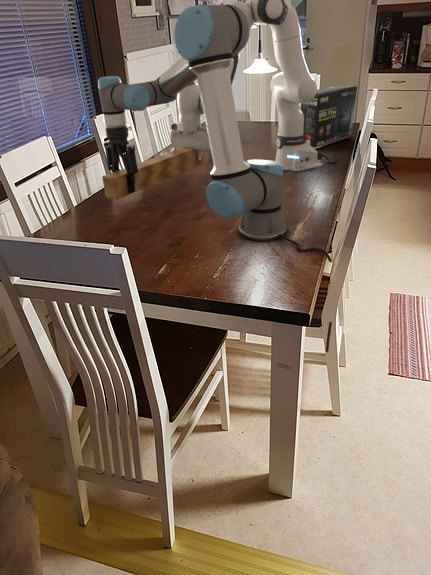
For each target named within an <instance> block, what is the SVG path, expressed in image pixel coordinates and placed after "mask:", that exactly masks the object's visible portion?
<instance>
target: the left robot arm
mask: <svg viewBox="0 0 431 575" xmlns="http://www.w3.org/2000/svg"><path fill="white" fill-rule="evenodd" d="M173 30H174V31H173V39H174V40H173V42H174V45H175V48H176V52H177V53H178V54H179V55H180V58H179V59H178V60H177V61H176V62H174V63H173V64H172V65H171V66H170V67H169V68H167V69H166V70H165V72H163V73H161V75H160V76H158V77H157V78H156V79H154V80H150V81H144V82H139V83H131V84H123V83H122V80H121V78H120V77H119V76H117V75H110V76H109V75H108V76H101V77H99V78H98V79H97V84H98V85H97V86H98V93H99V94H98V95H99V99H100V105H101V110H102V117H103V123H104V124H103V125H104V127H105V136H106V138H107V139H108V141H106V142H104V143H103V148H104V149H105V150H104V151H105V156H106V164H107V169H108V171H111V173H113V172H116V171H119V170H121V169H120V158H121V159H122V162H123V165H124V168H126V171H127V174H128V175H126V178H127V185H128V192H129V193H131V194H134V193H136V192H135V185H134V183H135V179H134V174H136V173H138V168H137V164H138V163H137V158H136V145H135V144H132V145H131V144H129V140H128V137H129V129H128V126H127V123H128V122H127V116H126V111H132V112H142V111H144V110H146V109H147V108H149V107H155V106H159V105H165V104H169V103H172V102H174V101H177V96H178V93H179V92H180V91H182V90H183V89H184V88H186V87H187V86H188V85H190V84H191V83H192V82H196V80H197V84H198V85H199V90H200V95H201V100H202V106H203V111H204V114H203V116H204V120H205V127H207V132H208V137H209V142H210V147H211V150H210V152H211V158H212V163H213V167H212V169H211V171H210V172H209V174H210V175H209V176H210V180H211V182H210V183H209V184H208V185H207V187H206V188H207V189H206V190H205V199H206V202H207V204H208V206H209V208H210V209H211V211H212V212H213V213H215V215H217V217H219V218H221V219H225V220H232V219H235V218H239V217H241V220H240V222H239V225H238V232H239V235H240V236H241V237H242V238H244V239H247V240H250V241H254V242H271V241H277V240H279V239H283V240H285V241H287V242H289V243H291V244H293V245H295V246H296V249H297V251H299V252H301V253H307V252H310V251H316V252H321V253H323V254H324V256H325V257H326V258H327V260H328V262H330V263H331V262H333V260H332V258H331V256H330V254H329V252H327V250H325V249H323V248H319V247H314V246H313V247H308V248H301V245H300V243H298V242H297V241H295V240H293V239H291V238H290V237H287V236H286V234H287V223H286V221H285V216H284V214H283V210H282V200H283V182H284V180H283V179H284V170H283V167H282V165H281V164H280V163H278V162H275V160H270V159H248V160H244V159H245V158H244V152H243V147H242V141H241V135H240V129H239V123H238V117H237V111H236V104H235V98H234V93H233V87H232V86H233V85H232V86H231V80H230V74H229V66H230V64H231V63H232V61H233V56H235V55H236V54H237V53H239V52H240V51H241V50H242V49H244V48H245V47H246V45H247V44H248V41H249V39H250V35H251V28H250V25H249V21H248V18H247V16H246V15H245V13H244V12H243V11H242V10H241V9H240V8H238V7H236V6H234V5H230V4H198V5H192V6H188V7H186V8H184V9H183V10H182V12H181V13H180V14H179V16H178V17H177V21H176V22H175V25H174V29H173ZM242 51H243V50H242ZM130 171H131V172H130ZM133 192H134V193H133ZM332 325H333V321H329V322H328V328H327V335H326V343H325V352H326V353H328V352H329V351H330V350H329V349H330V348H329V347H330V340H331V338H330V337H331V331H332Z"/></svg>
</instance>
